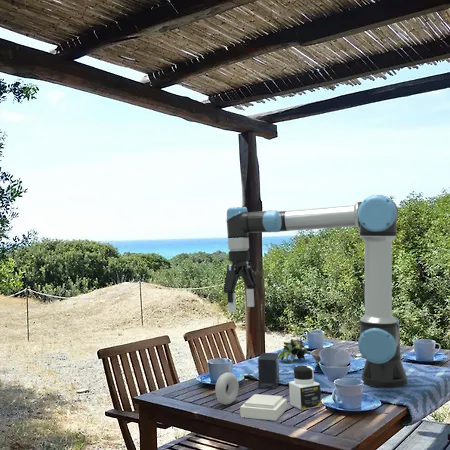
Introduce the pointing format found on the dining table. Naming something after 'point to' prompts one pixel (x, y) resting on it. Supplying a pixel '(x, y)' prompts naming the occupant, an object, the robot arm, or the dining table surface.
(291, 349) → the passion flower
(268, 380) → the small box
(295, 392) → the medicine bottle
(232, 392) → the donut
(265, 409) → the plinth
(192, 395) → the dining table surface
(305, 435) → the dining table surface
